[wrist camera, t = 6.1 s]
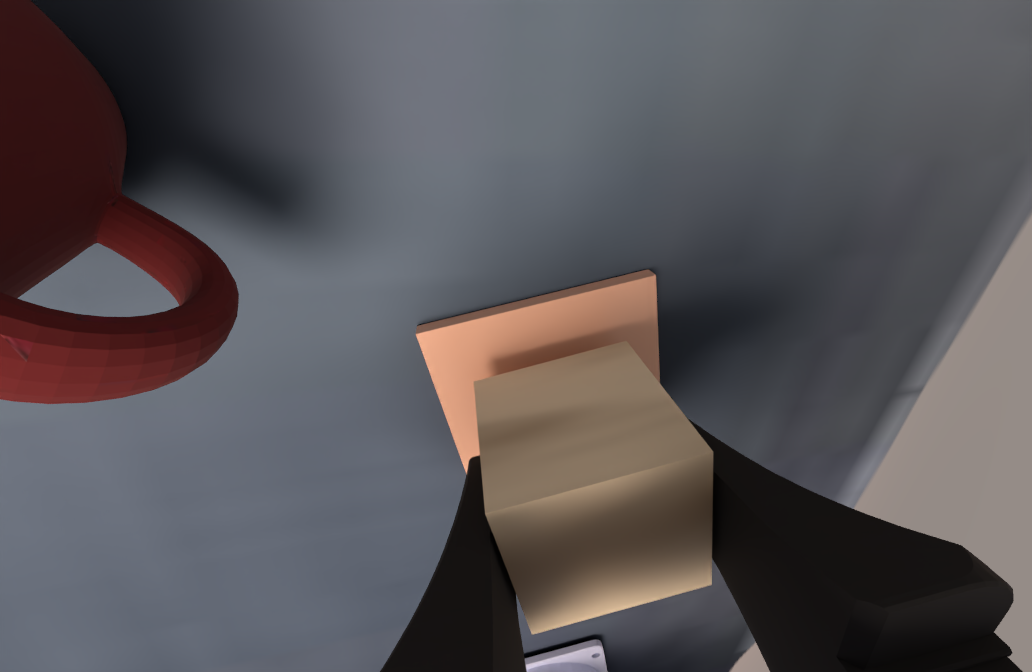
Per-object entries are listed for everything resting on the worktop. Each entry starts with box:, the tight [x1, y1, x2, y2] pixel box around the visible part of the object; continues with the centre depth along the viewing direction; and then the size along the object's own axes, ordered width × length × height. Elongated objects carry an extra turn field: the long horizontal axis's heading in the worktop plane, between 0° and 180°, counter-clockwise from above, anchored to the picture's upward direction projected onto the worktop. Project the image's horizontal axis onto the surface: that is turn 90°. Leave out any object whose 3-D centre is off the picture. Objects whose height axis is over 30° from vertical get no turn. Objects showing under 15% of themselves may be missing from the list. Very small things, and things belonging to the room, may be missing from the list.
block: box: [474, 341, 713, 635], centre depth 12 cm, size 5×5×5 cm
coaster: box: [416, 269, 660, 474], centre depth 16 cm, size 8×8×1 cm
